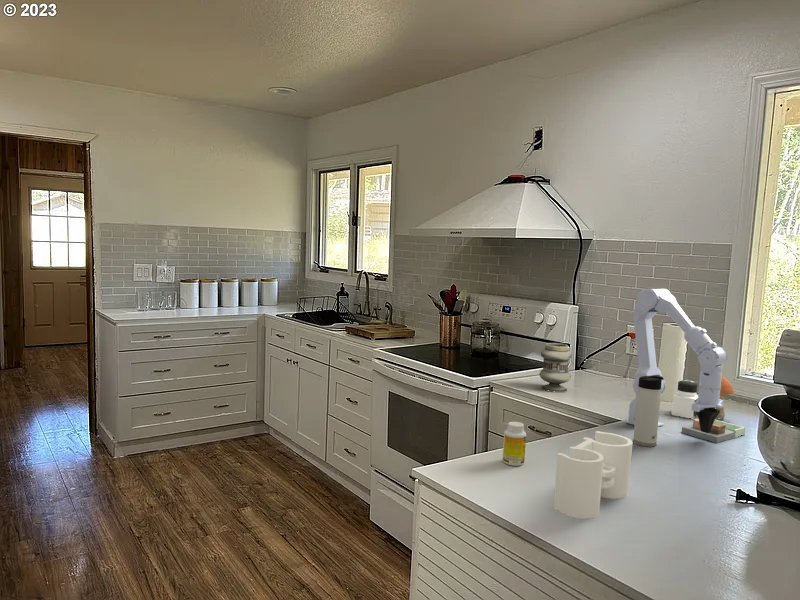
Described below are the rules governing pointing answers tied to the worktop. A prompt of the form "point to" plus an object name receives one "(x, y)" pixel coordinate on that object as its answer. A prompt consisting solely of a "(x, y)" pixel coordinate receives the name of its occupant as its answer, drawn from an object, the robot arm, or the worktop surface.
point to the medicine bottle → (685, 399)
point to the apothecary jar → (555, 366)
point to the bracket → (592, 474)
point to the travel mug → (647, 410)
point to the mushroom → (725, 389)
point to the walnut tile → (718, 428)
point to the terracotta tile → (696, 423)
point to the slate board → (708, 434)
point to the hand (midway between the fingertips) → (705, 432)
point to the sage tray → (733, 428)
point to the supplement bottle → (514, 444)
